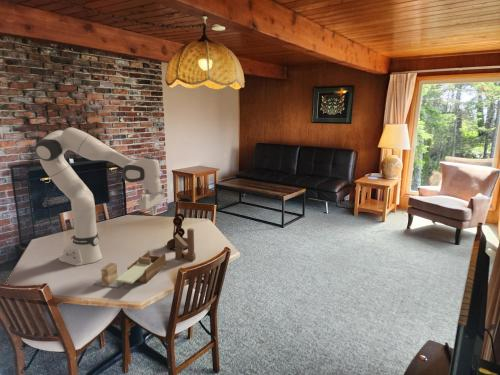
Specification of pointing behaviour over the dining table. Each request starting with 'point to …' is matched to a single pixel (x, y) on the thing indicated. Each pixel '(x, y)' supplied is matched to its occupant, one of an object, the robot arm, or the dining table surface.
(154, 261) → the wooden box
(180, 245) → the wooden stand
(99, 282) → the felt mat
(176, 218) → the dark brown ringed stand
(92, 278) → the dining table surface
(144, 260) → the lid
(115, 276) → the light wood block
